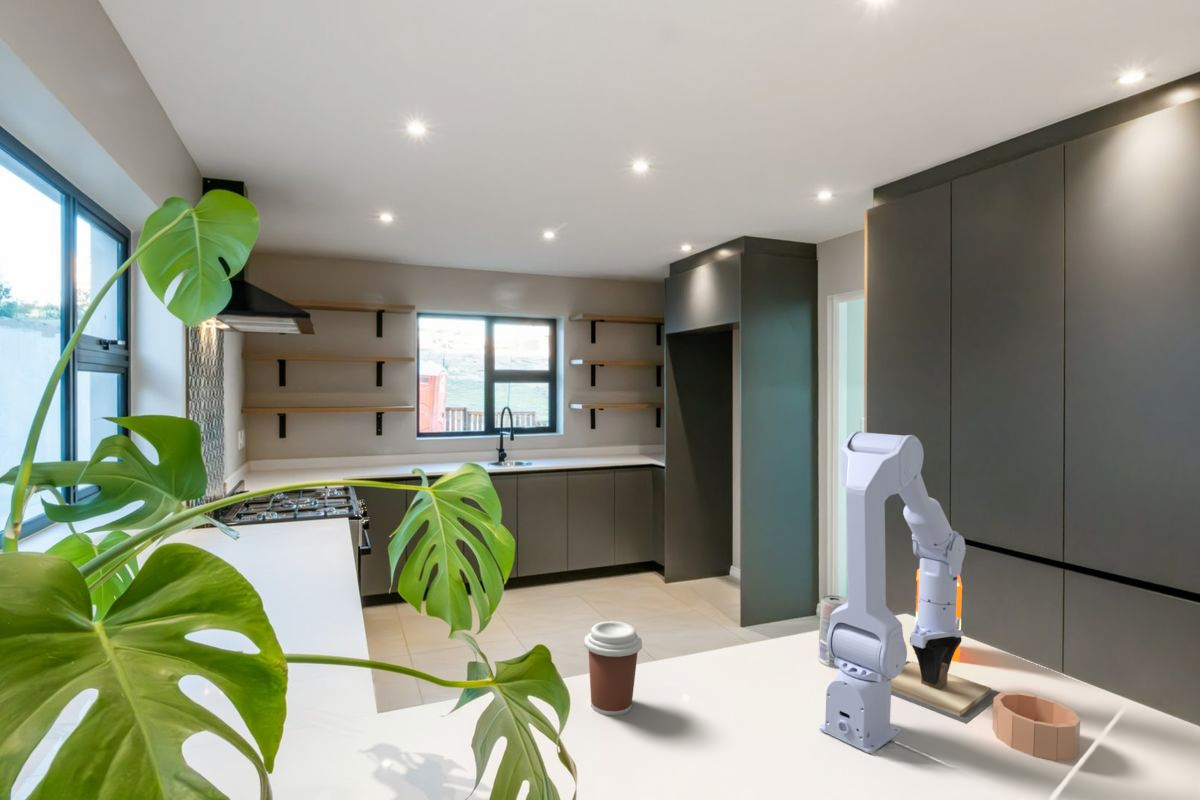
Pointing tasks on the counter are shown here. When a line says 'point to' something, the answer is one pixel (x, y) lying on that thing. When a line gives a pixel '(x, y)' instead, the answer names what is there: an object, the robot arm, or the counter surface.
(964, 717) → the mat
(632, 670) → the coffee cup
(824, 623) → the energy drink
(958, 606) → the orange juice
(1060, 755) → the bowl
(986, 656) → the counter surface
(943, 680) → the lid
